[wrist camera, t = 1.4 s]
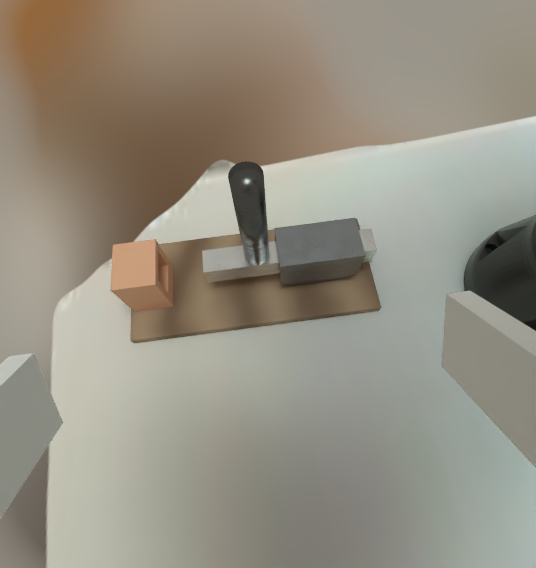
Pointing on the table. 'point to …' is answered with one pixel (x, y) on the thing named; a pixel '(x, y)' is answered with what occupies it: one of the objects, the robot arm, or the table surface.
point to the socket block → (142, 275)
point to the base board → (244, 297)
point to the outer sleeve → (319, 251)
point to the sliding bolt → (253, 232)
